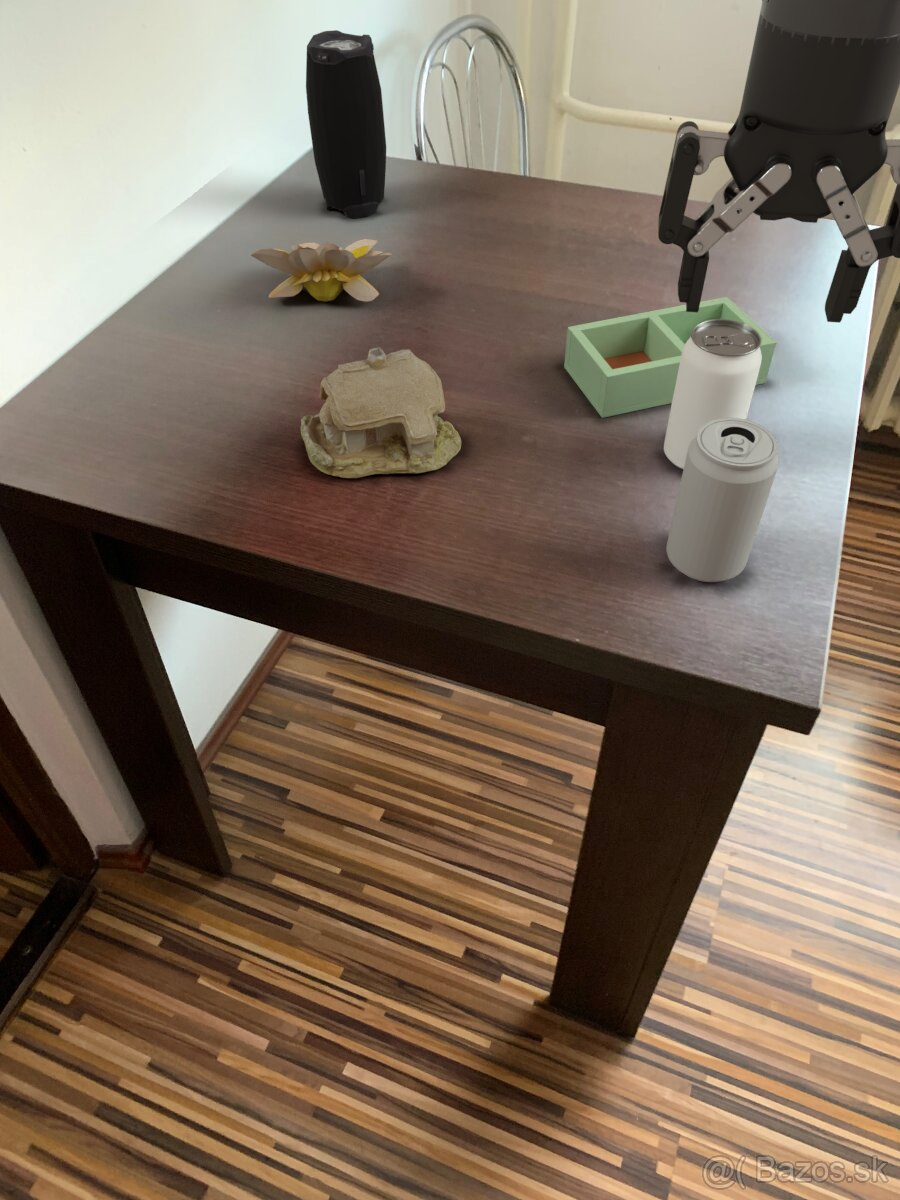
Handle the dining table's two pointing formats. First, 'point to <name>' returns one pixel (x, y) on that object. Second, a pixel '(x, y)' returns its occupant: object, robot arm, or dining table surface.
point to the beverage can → (722, 498)
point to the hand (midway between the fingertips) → (761, 311)
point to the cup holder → (643, 354)
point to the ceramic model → (380, 419)
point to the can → (712, 381)
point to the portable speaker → (346, 121)
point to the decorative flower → (325, 269)
